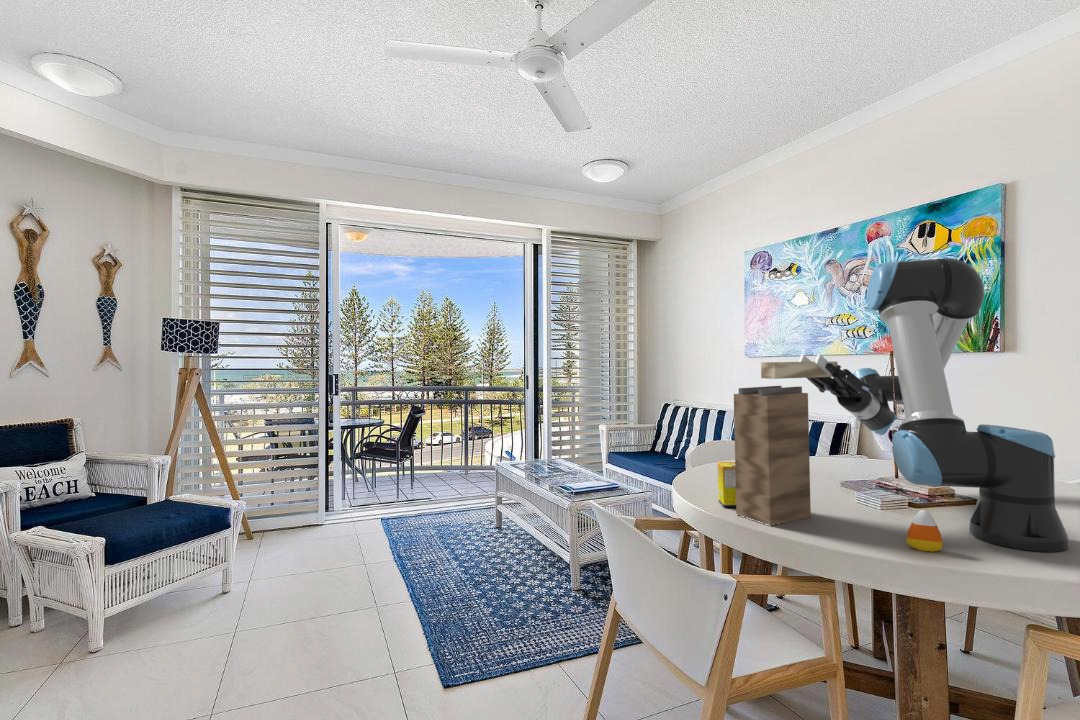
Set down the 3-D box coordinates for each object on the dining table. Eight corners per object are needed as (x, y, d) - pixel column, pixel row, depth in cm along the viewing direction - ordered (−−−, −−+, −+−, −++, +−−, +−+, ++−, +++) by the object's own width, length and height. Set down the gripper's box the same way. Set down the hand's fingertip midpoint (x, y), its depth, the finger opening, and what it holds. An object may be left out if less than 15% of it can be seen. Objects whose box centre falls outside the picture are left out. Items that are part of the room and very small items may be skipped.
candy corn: (941, 549, 104) (940, 509, 104) (945, 554, 102) (944, 513, 102) (905, 545, 107) (904, 506, 107) (907, 550, 104) (907, 510, 104)
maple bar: (837, 376, 138) (837, 361, 138) (774, 378, 127) (774, 362, 127) (823, 376, 142) (823, 361, 142) (761, 378, 131) (761, 362, 131)
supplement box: (740, 501, 141) (739, 461, 141) (747, 508, 135) (746, 466, 135) (717, 501, 142) (717, 461, 142) (723, 508, 136) (722, 466, 136)
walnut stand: (810, 516, 127) (807, 386, 127) (770, 526, 120) (767, 389, 120) (775, 506, 136) (772, 385, 136) (736, 515, 129) (733, 387, 129)
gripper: (885, 415, 136) (835, 372, 127) (824, 410, 152) (775, 371, 143) (894, 390, 138) (845, 345, 129) (832, 387, 153) (785, 347, 144)
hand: (808, 359), depth 136 cm, fingers closed on maple bar, 4 cm apart
